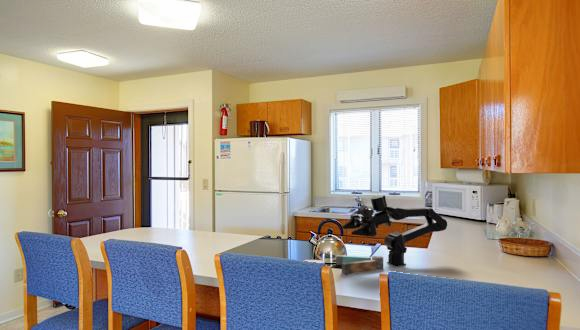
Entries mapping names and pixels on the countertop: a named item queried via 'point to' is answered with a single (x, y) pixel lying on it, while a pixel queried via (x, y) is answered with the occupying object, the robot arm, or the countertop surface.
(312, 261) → the charger
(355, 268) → the wooden block
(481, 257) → the countertop surface
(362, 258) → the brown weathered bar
